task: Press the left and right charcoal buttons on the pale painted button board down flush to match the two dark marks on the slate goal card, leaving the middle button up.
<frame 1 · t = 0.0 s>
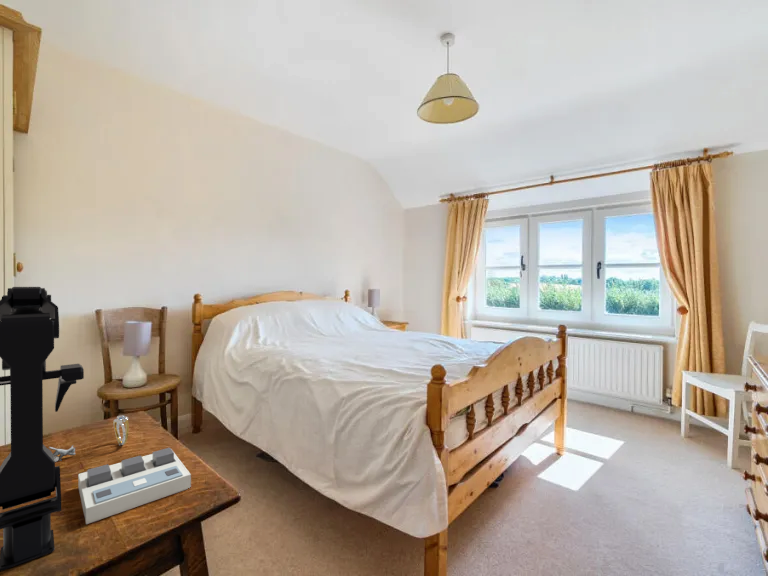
hand: (28, 416, 82), 15 cm above the table, tool pointing down, fingers open, 9 cm apart
ring: (121, 445, 100), on the table
button right: (163, 458, 86), point 4 cm above the table, slide at 0.0 cm
button board: (134, 487, 81), on the table
button middle: (132, 467, 82), point 4 cm above the table, slide at 0.0 cm
button left: (99, 476, 78), point 4 cm above the table, slide at 0.0 cm
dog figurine: (62, 460, 92), on the table
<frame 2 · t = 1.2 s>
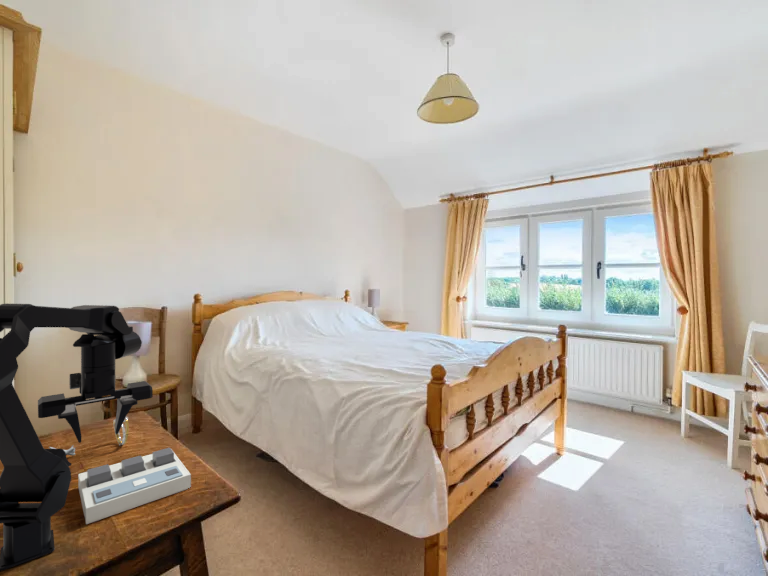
hand: (98, 437, 78), 12 cm above the table, tool pointing down, fingers open, 6 cm apart
nothing on the table moved.
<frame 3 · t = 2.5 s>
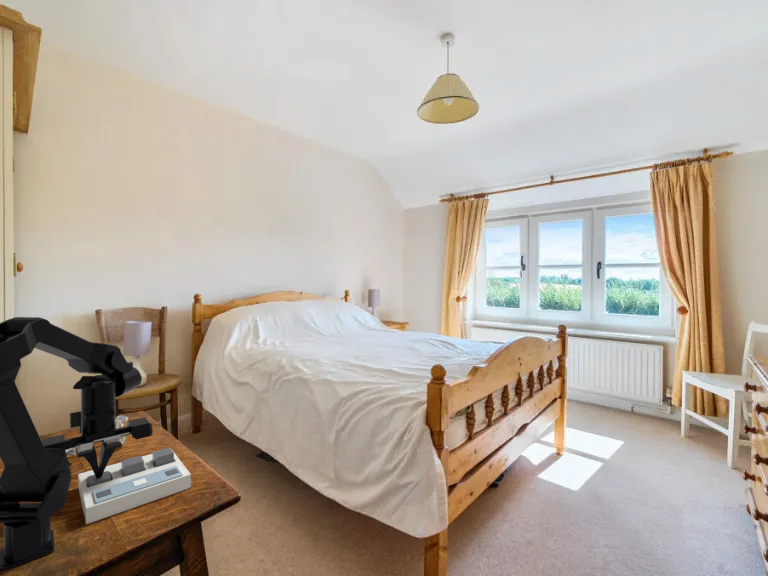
hand: (98, 477, 78), 4 cm above the table, tool pointing down, fingers closed, pressing on button left
button left: (99, 483, 78), point 2 cm above the table, slide at 1.5 cm, touching gripper
everything else where it was.
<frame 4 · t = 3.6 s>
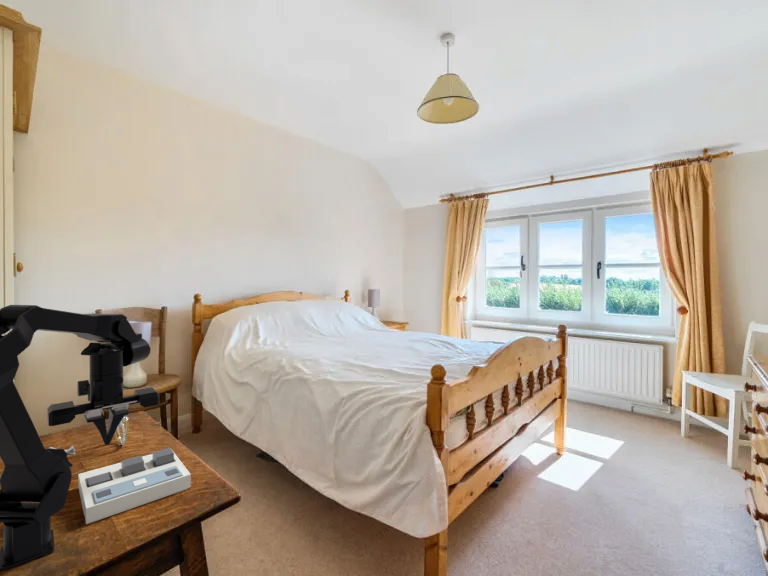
hand: (107, 444, 79), 10 cm above the table, tool pointing down, fingers closed
button left: (99, 485, 78), point 2 cm above the table, slide at 1.8 cm
everything else where it was.
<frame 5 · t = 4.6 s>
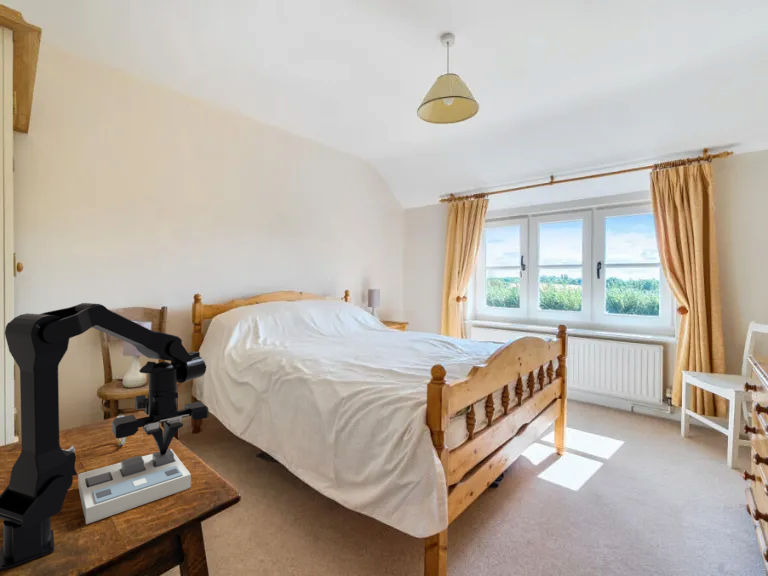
hand: (162, 454, 86), 5 cm above the table, tool pointing down, fingers closed, pressing on button right
button right: (163, 459, 86), point 3 cm above the table, slide at 0.3 cm, touching gripper
everything else where it was.
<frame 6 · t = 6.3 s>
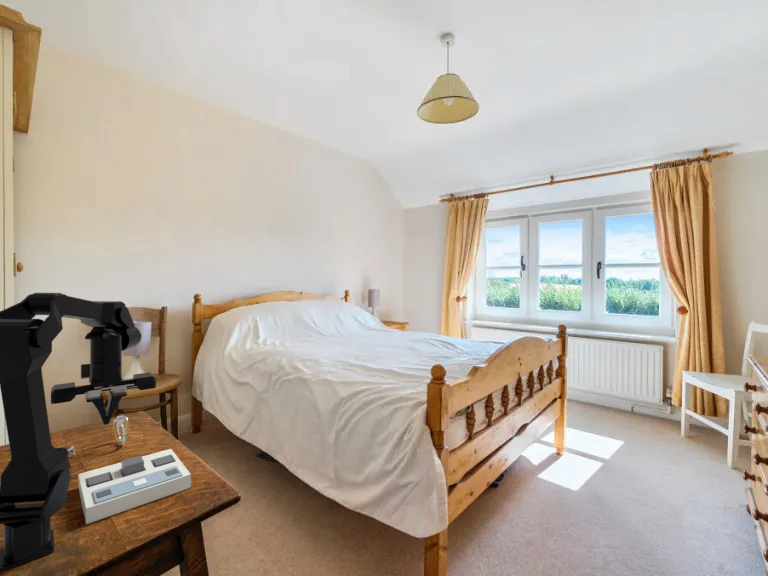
hand: (106, 424, 84), 12 cm above the table, tool pointing down, fingers closed
button right: (163, 465, 87), point 2 cm above the table, slide at 1.8 cm
everything else where it was.
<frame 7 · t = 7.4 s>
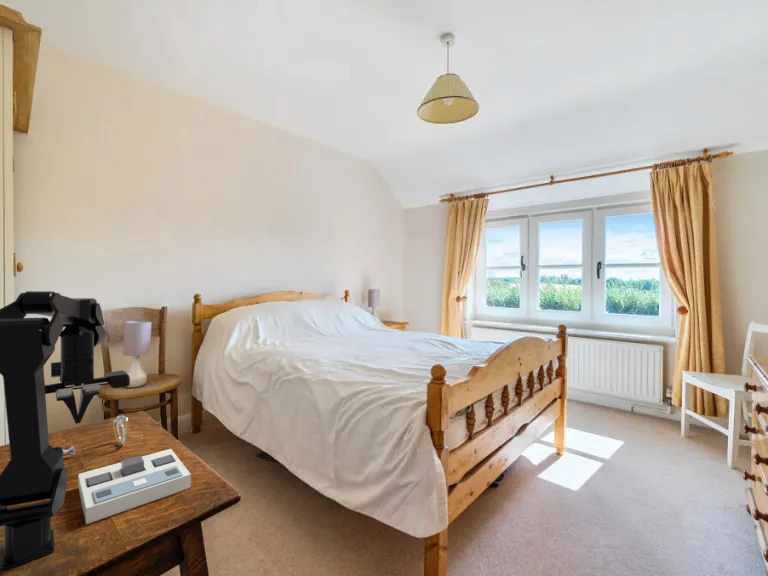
hand: (77, 422, 83), 13 cm above the table, tool pointing down, fingers closed
nothing on the table moved.
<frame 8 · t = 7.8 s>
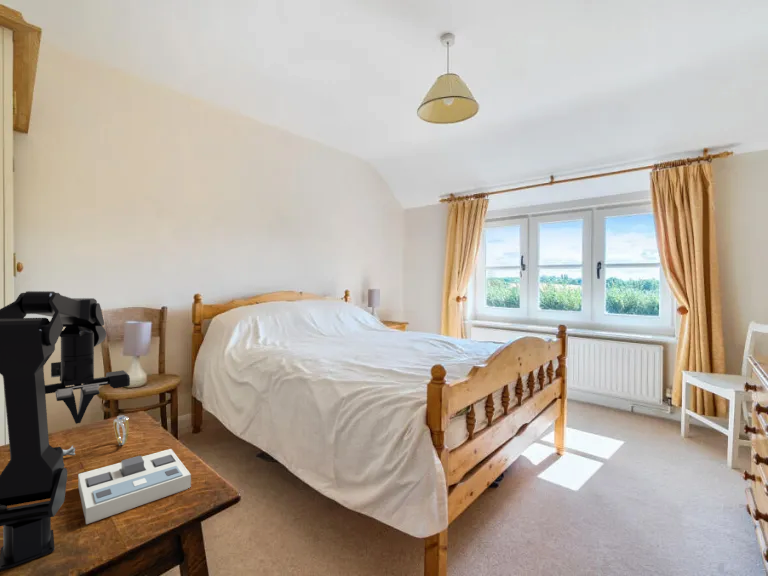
hand: (77, 422, 83), 13 cm above the table, tool pointing down, fingers closed
nothing on the table moved.
at the end: button left slide at 1.8 cm; button right slide at 1.8 cm; button middle slide at 0.0 cm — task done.
